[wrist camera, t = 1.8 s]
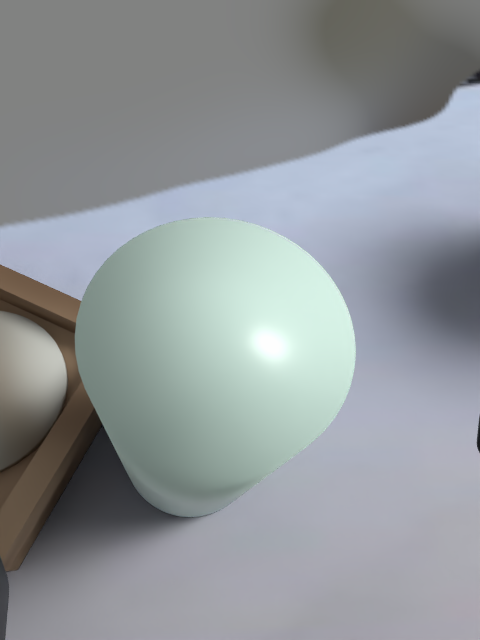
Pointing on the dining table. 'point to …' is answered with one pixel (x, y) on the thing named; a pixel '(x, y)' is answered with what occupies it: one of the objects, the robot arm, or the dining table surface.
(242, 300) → the pale green rounded part
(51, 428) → the tray
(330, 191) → the dining table surface
